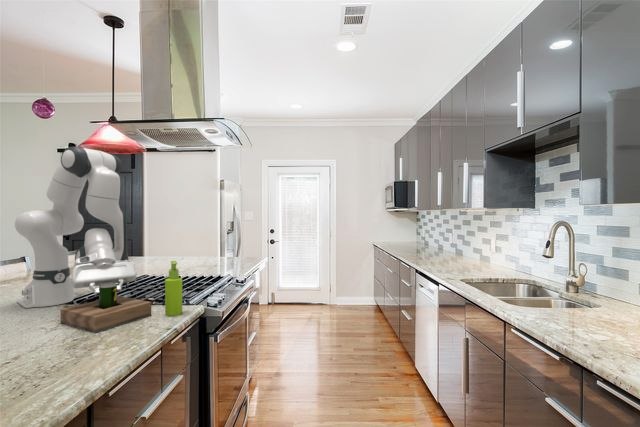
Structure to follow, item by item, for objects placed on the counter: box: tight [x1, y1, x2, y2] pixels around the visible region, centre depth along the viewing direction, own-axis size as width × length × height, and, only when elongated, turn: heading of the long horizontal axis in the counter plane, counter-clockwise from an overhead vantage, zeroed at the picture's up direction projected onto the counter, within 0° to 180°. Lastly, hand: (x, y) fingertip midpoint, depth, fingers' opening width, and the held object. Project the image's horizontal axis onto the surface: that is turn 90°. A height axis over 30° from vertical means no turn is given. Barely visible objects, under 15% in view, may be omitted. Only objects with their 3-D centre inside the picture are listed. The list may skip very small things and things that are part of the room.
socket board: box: [60, 295, 152, 334], centre depth 121 cm, size 20×20×5 cm
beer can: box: [98, 282, 118, 309], centre depth 121 cm, size 5×5×12 cm
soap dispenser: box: [164, 260, 183, 317], centre depth 127 cm, size 6×7×20 cm
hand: (108, 292), depth 120 cm, fingers closed on beer can, 5 cm apart
